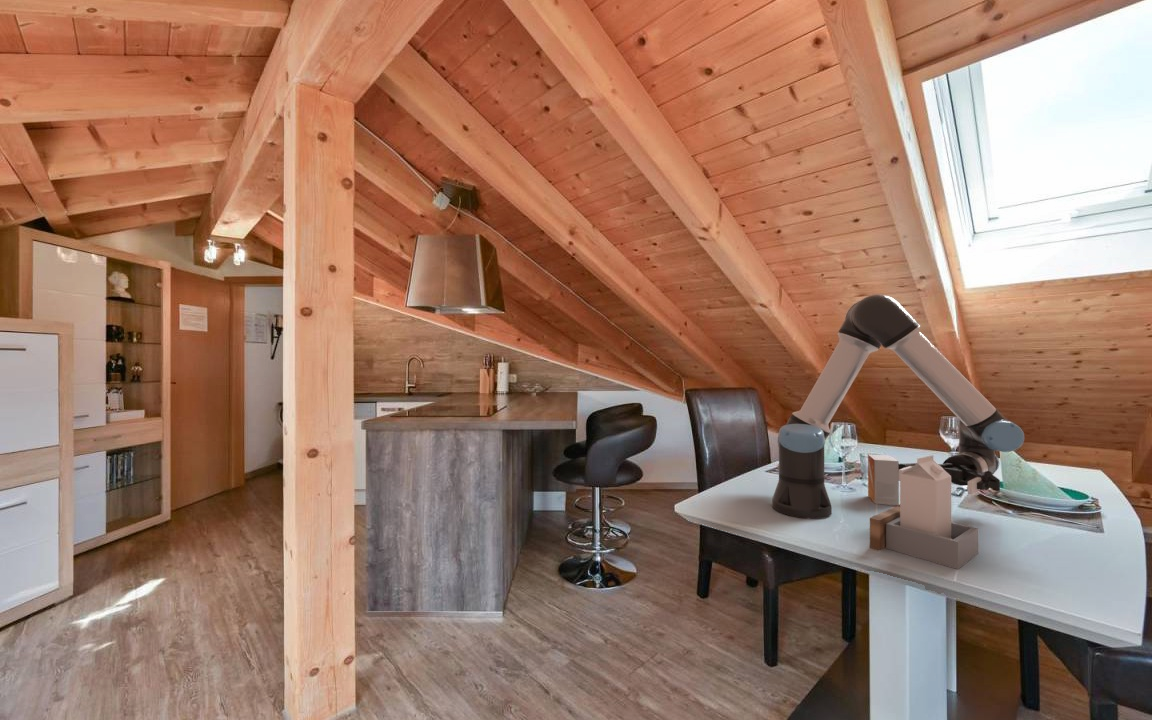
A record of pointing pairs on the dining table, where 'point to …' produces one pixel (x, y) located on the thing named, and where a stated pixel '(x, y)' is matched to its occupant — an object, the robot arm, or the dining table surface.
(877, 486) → the small box
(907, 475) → the milk carton
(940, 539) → the tray
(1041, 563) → the dining table surface
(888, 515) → the walnut wall
